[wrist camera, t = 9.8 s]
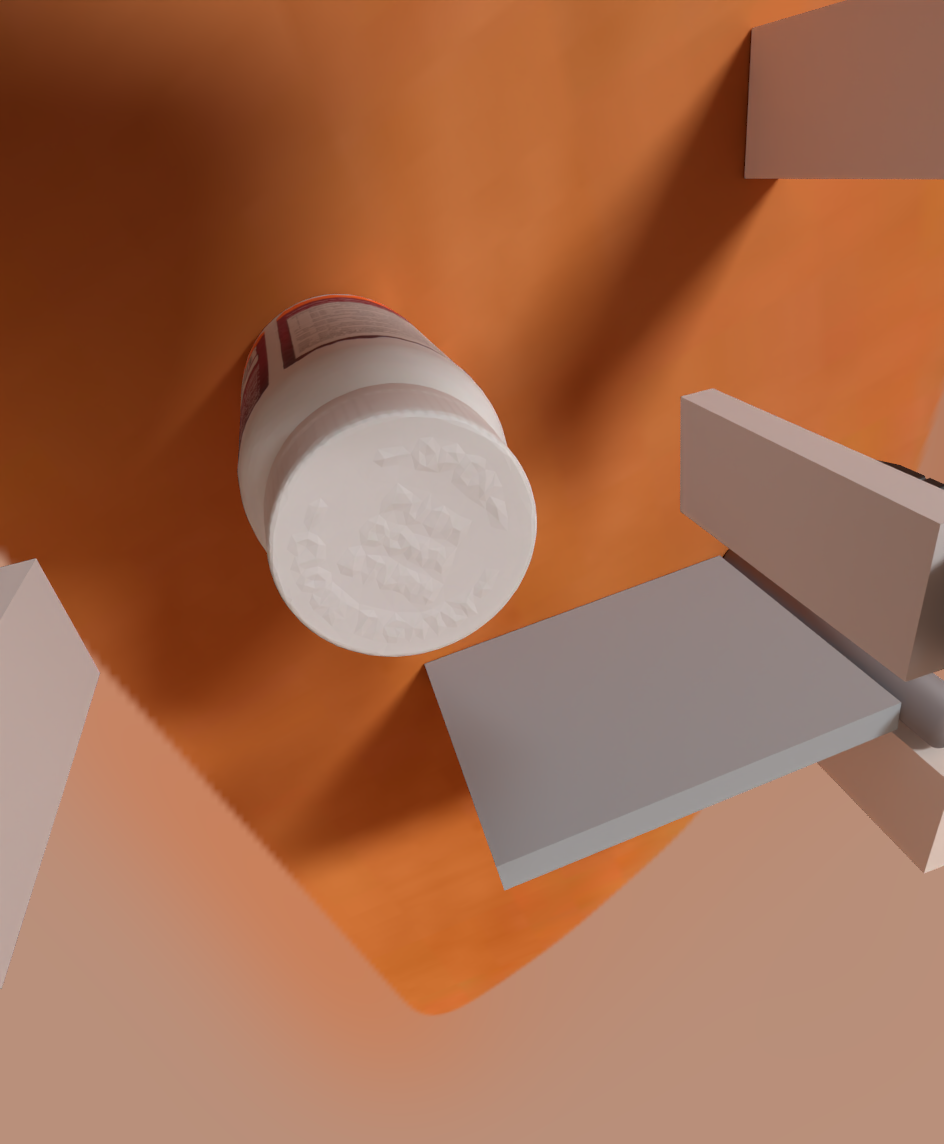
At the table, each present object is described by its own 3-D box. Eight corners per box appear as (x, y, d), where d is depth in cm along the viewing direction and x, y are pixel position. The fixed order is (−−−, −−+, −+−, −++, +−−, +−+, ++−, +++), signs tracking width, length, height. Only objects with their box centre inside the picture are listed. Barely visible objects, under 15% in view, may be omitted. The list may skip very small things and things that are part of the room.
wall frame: (751, 28, 20) (1235, -116, 10) (796, 20, 21) (1311, -127, 11) (720, 662, 33) (923, 873, 23) (748, 653, 33) (961, 858, 23)
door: (758, 535, 30) (983, 694, 21) (759, 585, 31) (969, 754, 22) (422, 658, 28) (504, 890, 19) (439, 705, 30) (523, 942, 21)
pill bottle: (334, 515, 24) (387, 731, 15) (197, 379, 21) (153, 546, 12) (471, 401, 24) (618, 551, 14) (351, 243, 20) (439, 301, 11)
